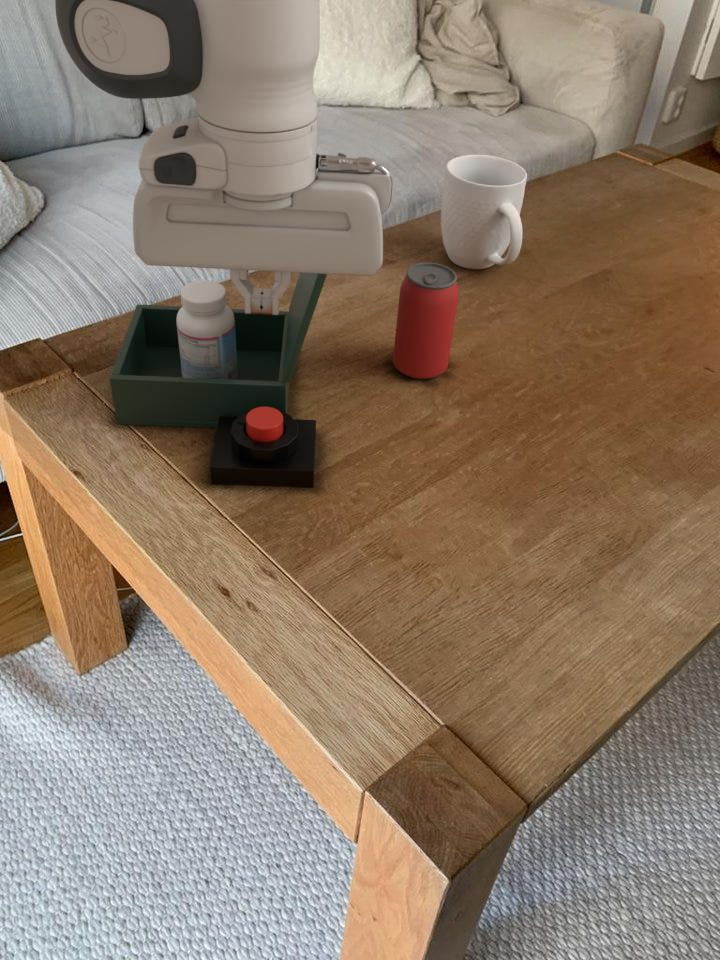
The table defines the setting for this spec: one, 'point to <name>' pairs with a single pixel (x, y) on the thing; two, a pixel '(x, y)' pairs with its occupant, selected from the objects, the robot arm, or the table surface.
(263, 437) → the button
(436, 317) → the beer can
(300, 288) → the box lid
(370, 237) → the robot arm
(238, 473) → the control block
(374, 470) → the table surface
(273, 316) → the box
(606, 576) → the table surface
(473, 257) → the mug
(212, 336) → the pill bottle
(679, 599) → the table surface
